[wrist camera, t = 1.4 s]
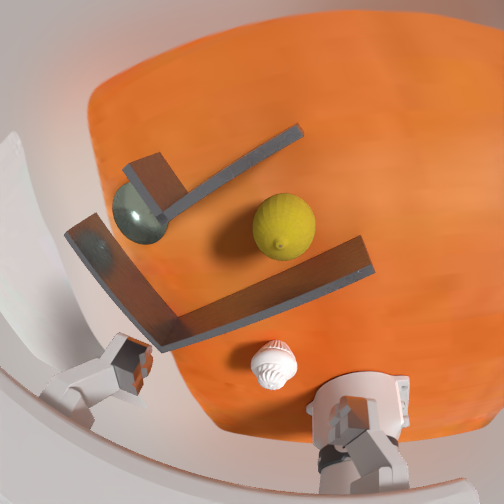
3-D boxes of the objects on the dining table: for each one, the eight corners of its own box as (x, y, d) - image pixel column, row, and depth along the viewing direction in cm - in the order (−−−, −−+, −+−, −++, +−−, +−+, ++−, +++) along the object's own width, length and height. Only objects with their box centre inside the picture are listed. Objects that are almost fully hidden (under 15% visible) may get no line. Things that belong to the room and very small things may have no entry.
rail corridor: (364, 242, 28) (375, 272, 23) (177, 324, 39) (161, 353, 34) (265, 76, 22) (254, 65, 17) (92, 216, 33) (63, 235, 28)
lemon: (268, 239, 30) (255, 281, 23) (253, 191, 28) (234, 220, 21) (319, 230, 28) (322, 270, 21) (307, 178, 26) (308, 204, 19)
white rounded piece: (285, 326, 35) (279, 367, 29) (306, 354, 37) (303, 394, 31) (246, 339, 38) (235, 378, 32) (269, 365, 40) (262, 403, 34)
